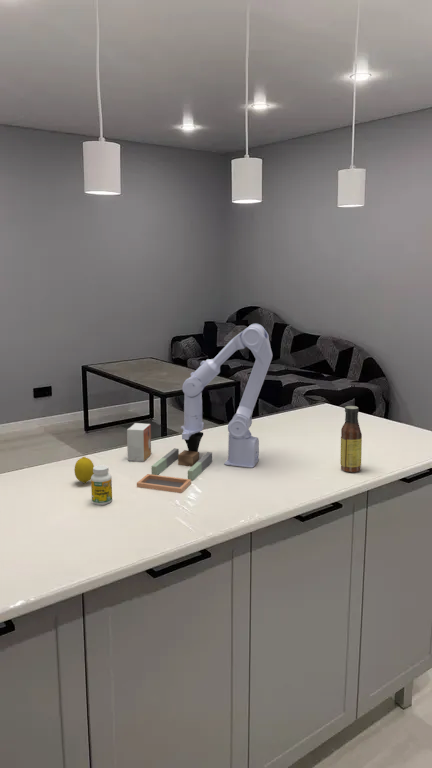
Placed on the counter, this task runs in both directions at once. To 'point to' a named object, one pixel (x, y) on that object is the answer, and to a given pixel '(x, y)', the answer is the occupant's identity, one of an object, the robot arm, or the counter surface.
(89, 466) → the lemon
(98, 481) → the supplement bottle
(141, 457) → the small box
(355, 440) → the sauce bottle
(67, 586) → the counter surface
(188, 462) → the walnut block
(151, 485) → the tray
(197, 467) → the green and grey bars
